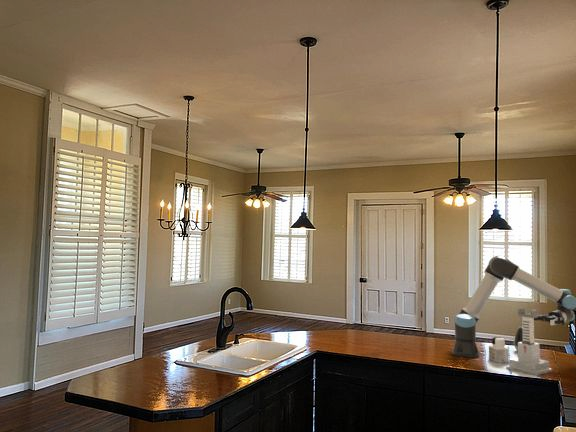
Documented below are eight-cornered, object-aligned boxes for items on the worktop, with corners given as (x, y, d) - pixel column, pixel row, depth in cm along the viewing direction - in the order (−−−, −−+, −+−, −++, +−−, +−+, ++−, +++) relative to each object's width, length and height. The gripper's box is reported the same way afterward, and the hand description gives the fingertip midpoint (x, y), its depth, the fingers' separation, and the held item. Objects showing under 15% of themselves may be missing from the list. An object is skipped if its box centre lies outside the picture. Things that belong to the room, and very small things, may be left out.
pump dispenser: (528, 349, 290) (527, 325, 291) (535, 353, 280) (534, 328, 281) (511, 349, 291) (510, 325, 292) (517, 353, 281) (517, 328, 282)
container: (488, 358, 266) (488, 336, 267) (501, 358, 267) (501, 336, 268) (495, 362, 259) (495, 339, 259) (509, 362, 259) (508, 339, 260)
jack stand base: (506, 368, 246) (505, 339, 247) (522, 364, 255) (521, 336, 256) (536, 375, 233) (535, 345, 234) (552, 370, 242) (551, 341, 243)
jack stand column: (519, 365, 246) (518, 308, 248) (524, 364, 249) (522, 307, 251) (534, 369, 240) (532, 310, 241) (539, 367, 242) (537, 309, 244)
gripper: (580, 327, 255) (562, 331, 243) (534, 321, 275) (516, 324, 263) (579, 313, 255) (561, 317, 243) (534, 308, 276) (515, 311, 263)
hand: (538, 321), depth 253 cm, fingers open, 13 cm apart
